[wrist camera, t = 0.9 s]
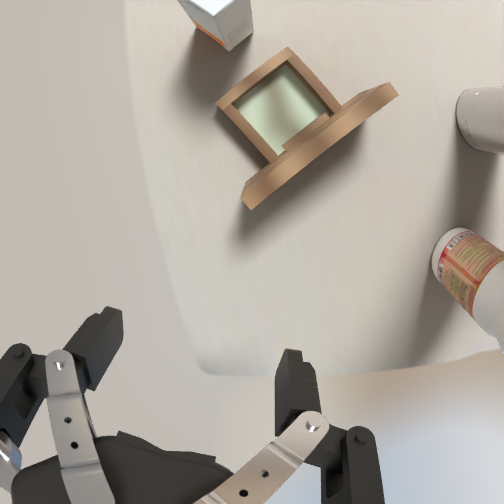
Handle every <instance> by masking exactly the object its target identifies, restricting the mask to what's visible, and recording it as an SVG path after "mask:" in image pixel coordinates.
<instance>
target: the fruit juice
mask: <svg viewBox="0 0 504 504" xmlns="http://www.w3.org/2000/svg"><path fill="white" fill-rule="evenodd" d="M432 270H433V273H434V275H435V277H436V278H437V280H438V281H439V282H440V283H441V284H442V285H443V286H444V287H445V288H446V289H447V290H448V292H449V293H450V294H451V295H452V296H453V297H454V298H455V299H456V300H457V301H458V302H459V303H460V304H461V306H462V307H463V308H464V309H465V310H466V311H467V312H468V313H469V314H470V316H471V317H472V318H473V319H474V320H475V322H476V323H477V324H478V325H479V326H480V327H481V328H482V329H483V330H484V331H485V332H486V333H487V334H489V335H491V336H493V337H495V338H496V339H497V341H498V344H499V346H500V349H501V351H502V352H503V354H504V252H503V251H501V250H500V249H498V248H497V247H495V246H494V245H492V244H491V243H489V242H488V241H486V240H485V239H483V238H481V237H480V236H478V235H477V234H475V233H474V232H472V231H470V230H468V229H466V228H454V229H451V230H449V231H448V232H446V233H445V234H444V235H443V236H442V237H441V238H440V240H439V241H438V243H437V245H436V247H435V249H434V252H433V255H432Z"/></svg>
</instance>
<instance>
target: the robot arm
mask: <svg viewBox="0 0 504 504" xmlns="http://www.w3.org/2000/svg"><path fill="white" fill-rule="evenodd" d="M456 115H457V122H458V126H459V129H460V131H461V134H462V135H463V137H464V139H465V140H466V141H467V143H468V144H469V145H470V146H472V147H473V148H475V149H478V150H483V151H487V152H492V153H496V154H500V155H504V87H490V88H476V89H469V90H466V91H464V92H463V93H462V94H461V96H460V97H459V100H458V103H457V113H456ZM122 341H123V320H122V311H121V310H118V309H115V308H112V307H109V306H107V307H105V308H104V310H103V311H102V312H101V314H97V313H95V314H93V315H91V316H90V317H88V318H87V319H86V320H85V321H84V323H83V324H82V326H81V327H80V328H79V329H78V331H77V332H76V333H75V334H74V335H73V337H72V338H71V339H70V340H69V342H68V343H67V344H66V346H65V347H64V348H63V349H62V350H55V351H52V352H51V353H49V354H48V355H47V356H44V355H37V354H32V352H31V350H30V348H29V347H28V346H27V345H25V344H22V343H19V344H14V345H12V346H11V347H10V348H9V349H8V350H7V351H6V353H5V354H4V356H3V357H2V358H1V359H0V487H2V488H3V489H4V490H6V491H7V492H9V493H10V494H11V497H12V504H263V503H265V501H267V500H268V499H269V498H270V497H271V496H272V495H273V494H274V493H275V492H276V491H277V490H278V489H279V488H280V487H281V485H283V483H284V482H285V481H286V480H287V479H288V478H289V477H290V476H291V475H292V474H293V473H294V472H295V470H296V469H297V468H298V467H299V466H300V465H301V464H302V462H305V463H307V464H311V465H314V466H317V467H320V468H321V504H385V501H384V494H383V486H382V479H381V472H380V465H379V460H378V453H377V447H376V442H375V437H374V435H373V433H372V432H371V431H370V430H369V429H367V428H365V427H362V426H355V427H352V428H350V429H349V430H348V431H347V430H344V429H340V428H337V427H335V426H332V425H330V424H329V423H328V420H327V419H326V417H325V416H323V415H322V413H321V407H320V400H319V393H318V388H317V381H316V373H315V370H314V368H313V367H312V365H311V364H310V363H309V362H303V358H302V352H301V351H299V350H292V349H285V351H284V353H283V356H282V358H281V361H280V363H279V366H278V368H277V371H276V375H275V436H278V438H277V439H276V440H275V441H274V442H271V443H269V444H268V445H267V446H266V447H264V448H263V449H262V450H261V451H260V452H259V453H258V454H257V455H256V456H255V457H253V458H252V459H251V460H250V461H249V462H248V463H247V464H245V465H244V466H243V467H242V468H241V469H240V470H239V471H237V472H236V473H235V474H233V473H232V472H231V471H230V470H228V469H227V468H226V467H224V466H222V465H220V464H218V463H215V459H216V457H215V456H209V455H205V454H200V453H195V452H179V451H165V450H162V449H160V448H158V447H156V446H154V445H152V444H151V443H149V442H147V441H145V440H144V439H141V438H139V437H136V436H133V435H130V434H127V433H124V432H121V431H118V434H117V436H101V437H97V435H96V432H95V430H94V427H93V424H92V420H91V417H90V414H89V410H88V407H87V403H86V399H85V395H84V393H85V391H86V389H90V390H92V391H95V389H96V388H97V386H98V384H99V382H100V380H101V378H102V377H103V375H104V373H105V371H106V370H107V368H108V366H109V365H110V363H111V361H112V359H113V357H114V356H115V354H116V353H117V351H118V349H119V348H120V346H121V344H122ZM44 398H47V405H48V411H49V416H50V422H51V427H52V432H53V437H54V441H55V445H56V450H57V454H58V455H56V456H53V457H51V458H49V459H46V460H44V461H41V462H39V463H36V464H34V465H31V466H29V467H26V468H24V469H22V470H21V468H20V467H21V460H22V455H21V452H20V450H19V447H20V445H21V443H22V440H23V438H24V436H25V434H26V432H27V430H28V428H29V426H30V424H31V422H32V420H33V418H34V416H35V414H36V413H37V411H38V409H39V407H40V405H41V403H42V402H43V400H44Z"/></svg>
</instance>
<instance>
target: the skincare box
mask: <svg viewBox="0 0 504 504" xmlns="http://www.w3.org/2000/svg"><path fill="white" fill-rule="evenodd" d="M178 2H179V3H180V4H181V6H182V7H183V9H184V10H185V11H186V13H187V14H188V16H189V17H190V18H191V20H192V21H193V23H194V24H195V26H196V27H197V28H199V29H200V30H202V31H203V32H205V33H206V34H207V35H209V36H210V37H211V38H213V39H214V40H215V41H216V42H218V43H219V44H220V45H221V46H223V47H224V48H225V49H226V50H227V51H231V50H232V49H233V48H234V47H236V46H237V45H238V44H239V43H240V42H241V41H243V40H244V39H245V38H246V37H248V36H249V35H250V34H251V33H252V32H253V21H252V12H251V3H250V0H178Z"/></svg>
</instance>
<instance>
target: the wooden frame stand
mask: <svg viewBox="0 0 504 504" xmlns="http://www.w3.org/2000/svg"><path fill="white" fill-rule="evenodd" d="M398 95H399V94H398V93H397V92H396V90H395V89H394V87H393V86H392V85H391V83H390V82H388V83H385V84H382V85H380V86H377V87H374V88H372V89H369V90H366V91H364V92H361V93H359V94H358V95H356V96H355V97H354V98H352V99H351V100H349V101H348V102H347V103H345V104H344V105H343V106H341V105H340V104H339V103H338V101H337V100H336V99H335V98H334V97H333V95H332V94H331V93H330V92H329V91H328V89H327V88H326V87H325V86H324V85H323V84H322V82H321V81H320V80H319V79H318V78H317V77H316V76H315V75H314V73H313V72H312V71H311V70H310V69H309V68H308V67H307V66H306V65H305V64H304V63H303V62H302V60H301V59H300V58H299V57H298V56H297V55H296V54H295V53H294V52H293V51H292V50H291V49H290V48H289V47H286V48H285V49H283V50H282V51H280V52H279V53H278V54H276V55H275V56H273V57H272V58H271V59H269V60H268V61H267V62H265V63H264V64H263V65H261V66H260V67H259V68H257V69H256V70H255V71H253V72H252V73H251V74H249V75H248V76H247V77H246V78H244V79H243V80H242V81H241V82H239V83H238V84H237V85H236V86H234V87H233V88H232V89H231V90H230V91H228V92H227V93H226V94H225V95H224V96H223V97H221V98H220V99H219V100H218V101H217V102H216V104H217V105H218V106H219V107H220V108H221V110H222V111H223V112H224V113H225V114H226V115H227V116H228V117H229V118H230V119H231V120H232V121H233V122H234V123H235V124H236V125H237V127H238V128H239V129H240V130H241V131H242V132H243V133H244V134H245V135H246V136H247V137H248V139H249V140H250V141H251V142H252V143H253V144H254V145H255V146H256V148H257V149H258V150H259V151H260V152H261V153H262V154H263V155H264V157H265V158H266V159H267V160H268V161H269V162H270V163H268V164H267V165H266V166H265V167H263V168H262V169H261V170H260V171H259V172H257V173H256V174H255V175H254V176H253V177H251V178H250V179H249V180H248V181H247V182H246V183H245V186H244V189H243V191H242V194H241V197H240V199H241V200H242V201H243V202H244V203H245V204H246V205H247V206H248V208H249V209H250V210H252V209H253V208H255V207H256V206H257V205H258V204H259V203H261V202H262V201H263V200H264V199H265V198H267V197H268V196H269V195H270V194H272V193H273V192H274V191H275V190H277V189H278V188H279V187H280V186H281V185H283V184H284V183H285V182H286V181H288V180H289V179H290V178H291V177H293V176H294V175H295V174H296V173H298V172H299V171H300V170H301V169H303V168H304V167H305V166H306V165H308V164H309V163H310V162H312V161H313V160H314V159H315V158H317V157H318V156H319V155H320V154H322V153H323V152H324V151H326V150H327V149H328V148H329V147H331V146H332V145H333V144H335V143H336V142H337V141H338V140H340V139H341V138H342V137H344V136H345V135H346V134H348V133H349V132H350V131H351V130H353V129H354V128H355V127H357V126H358V125H359V124H361V123H362V122H363V121H365V120H366V119H367V118H369V117H370V116H371V115H373V114H374V113H375V112H377V111H378V110H379V109H381V108H382V107H383V106H385V105H386V104H387V103H389V102H390V101H392V100H393V99H394V98H396V97H397V96H398Z"/></svg>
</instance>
